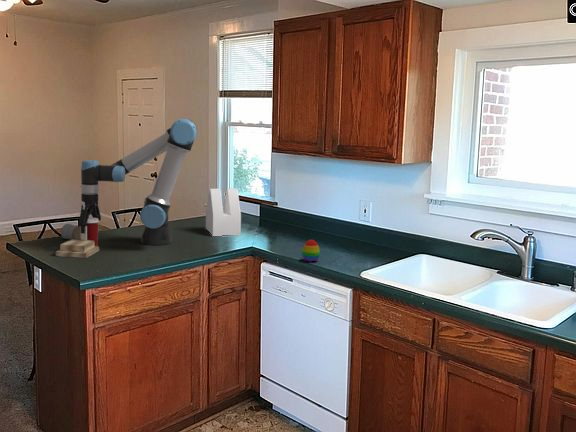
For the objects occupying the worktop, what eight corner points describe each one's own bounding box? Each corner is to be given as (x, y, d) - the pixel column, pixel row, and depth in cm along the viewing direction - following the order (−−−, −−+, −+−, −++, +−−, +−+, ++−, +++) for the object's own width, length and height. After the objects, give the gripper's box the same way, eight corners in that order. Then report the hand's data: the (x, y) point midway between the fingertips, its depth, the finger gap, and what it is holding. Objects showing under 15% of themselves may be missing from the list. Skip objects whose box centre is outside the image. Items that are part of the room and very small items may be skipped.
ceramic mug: (73, 241, 278) (73, 226, 277) (60, 239, 281) (60, 224, 280) (88, 238, 288) (88, 223, 286) (76, 236, 291) (76, 221, 289)
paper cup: (103, 247, 269) (102, 218, 267) (91, 250, 263) (90, 220, 260) (90, 245, 273) (90, 216, 270) (78, 248, 266) (78, 219, 263)
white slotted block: (240, 236, 308) (241, 191, 304) (212, 237, 303) (213, 191, 299) (231, 229, 326) (232, 186, 322) (205, 229, 321) (206, 186, 316)
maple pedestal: (99, 250, 262) (98, 240, 261) (86, 257, 249) (86, 246, 248) (70, 248, 263) (69, 238, 262) (55, 256, 249) (55, 245, 249)
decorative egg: (321, 263, 257) (322, 241, 255) (304, 263, 255) (305, 241, 253) (316, 258, 265) (317, 237, 263) (299, 258, 263) (300, 237, 261)
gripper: (92, 189, 276) (92, 230, 279) (70, 196, 251) (70, 242, 255) (107, 190, 275) (107, 232, 279) (86, 197, 251) (86, 243, 254)
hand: (89, 237), depth 267 cm, fingers open, 13 cm apart
